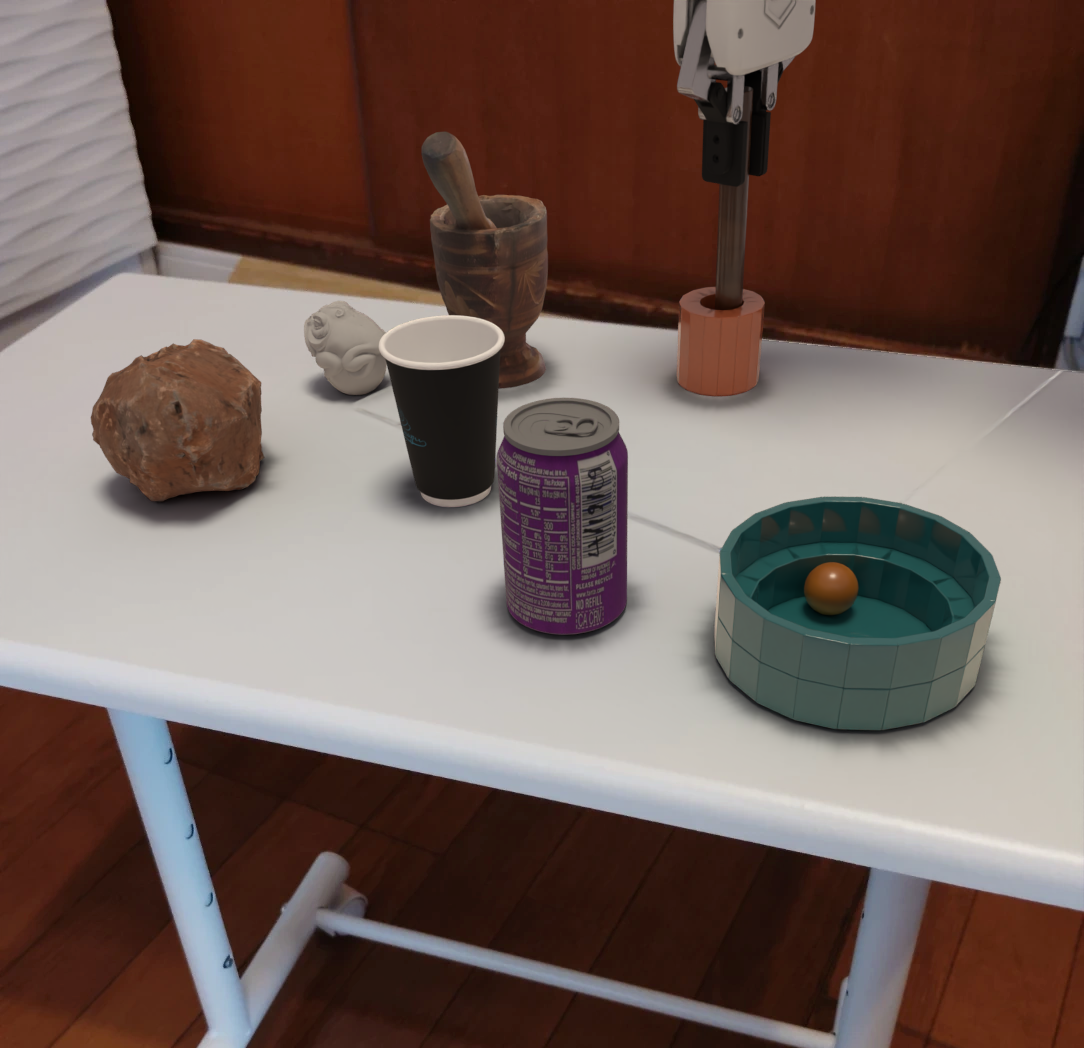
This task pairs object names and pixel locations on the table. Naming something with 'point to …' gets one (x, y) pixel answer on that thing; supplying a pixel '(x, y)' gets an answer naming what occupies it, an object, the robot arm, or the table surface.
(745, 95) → the stirring stick
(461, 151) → the mortar and pestle
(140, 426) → the decorative rock
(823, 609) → the bead
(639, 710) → the table surface
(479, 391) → the dixie cup
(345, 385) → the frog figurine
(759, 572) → the bowl
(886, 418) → the table surface
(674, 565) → the table surface
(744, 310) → the holder
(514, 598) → the beverage can
